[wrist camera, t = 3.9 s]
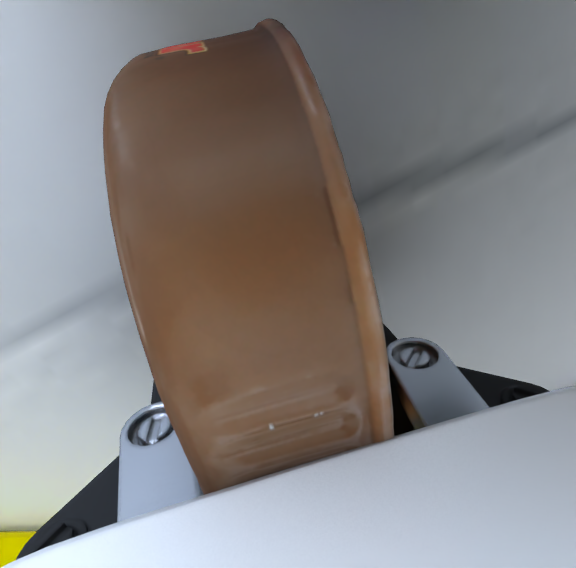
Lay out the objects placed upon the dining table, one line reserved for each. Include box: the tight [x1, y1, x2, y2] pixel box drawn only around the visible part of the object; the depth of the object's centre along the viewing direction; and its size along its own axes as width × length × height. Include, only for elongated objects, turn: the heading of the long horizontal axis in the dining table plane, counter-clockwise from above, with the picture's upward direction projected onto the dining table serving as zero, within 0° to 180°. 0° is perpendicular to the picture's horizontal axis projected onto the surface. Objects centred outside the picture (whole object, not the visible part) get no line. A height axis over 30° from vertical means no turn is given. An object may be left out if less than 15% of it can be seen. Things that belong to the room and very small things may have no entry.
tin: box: [103, 19, 394, 495], centre depth 9 cm, size 15×3×8 cm, turn 11°
